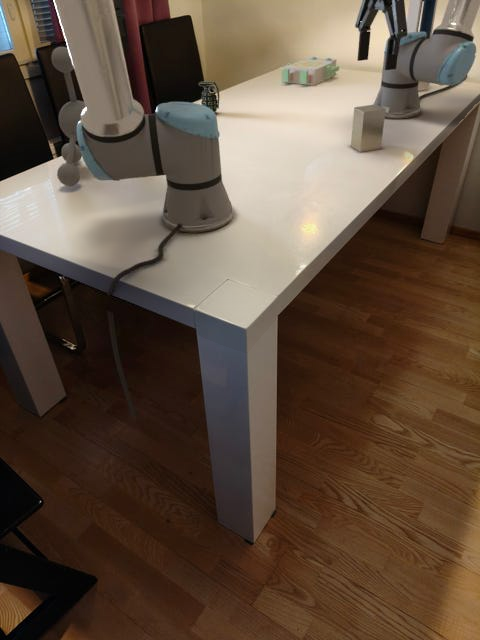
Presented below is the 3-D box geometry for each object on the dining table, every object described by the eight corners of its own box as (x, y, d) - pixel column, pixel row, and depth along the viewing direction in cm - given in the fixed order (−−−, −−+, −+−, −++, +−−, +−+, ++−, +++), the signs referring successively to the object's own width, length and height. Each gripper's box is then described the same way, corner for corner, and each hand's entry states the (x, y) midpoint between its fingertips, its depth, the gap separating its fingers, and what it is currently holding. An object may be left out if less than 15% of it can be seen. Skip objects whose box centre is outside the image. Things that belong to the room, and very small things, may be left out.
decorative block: (304, 55, 215) (345, 58, 206) (303, 71, 219) (344, 74, 210) (272, 66, 199) (316, 70, 190) (273, 83, 203) (315, 88, 194)
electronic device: (399, 93, 181) (413, -3, 163) (389, 89, 187) (401, -5, 168) (429, 89, 183) (446, -6, 165) (418, 85, 189) (433, -8, 171)
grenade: (199, 115, 171) (196, 84, 165) (204, 110, 175) (201, 80, 169) (217, 115, 170) (215, 84, 164) (221, 111, 174) (219, 80, 168)
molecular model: (148, 176, 128) (126, 47, 109) (62, 192, 122) (23, 59, 103) (130, 150, 145) (108, 34, 127) (54, 163, 139) (20, 44, 121)
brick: (371, 143, 140) (375, 104, 134) (380, 148, 136) (386, 108, 130) (350, 146, 139) (354, 107, 132) (359, 152, 135) (364, 112, 128)
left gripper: (78, -64, 111) (99, 42, 124) (86, -68, 92) (109, 58, 105) (111, -66, 112) (128, 39, 125) (125, -70, 93) (144, 54, 106)
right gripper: (346, -38, 120) (340, 58, 133) (403, -37, 101) (389, 75, 114) (373, -40, 122) (364, 55, 135) (434, -39, 103) (417, 71, 116)
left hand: (120, 48), depth 115 cm, fingers open, 13 cm apart
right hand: (375, 64), depth 125 cm, fingers open, 13 cm apart
